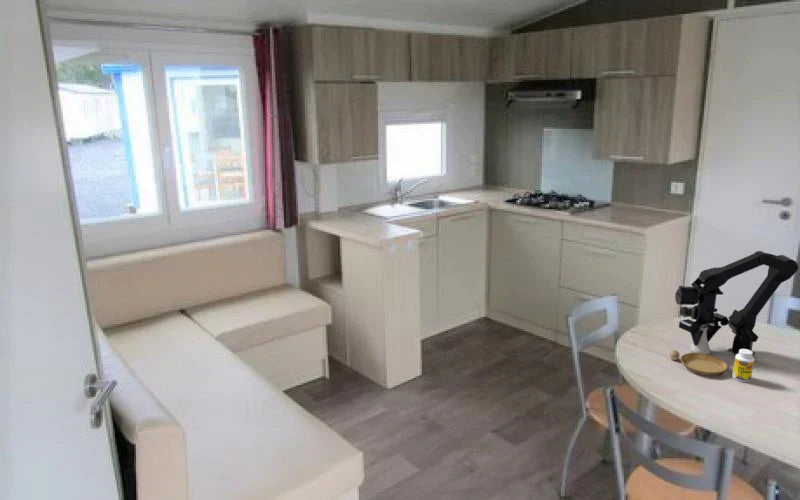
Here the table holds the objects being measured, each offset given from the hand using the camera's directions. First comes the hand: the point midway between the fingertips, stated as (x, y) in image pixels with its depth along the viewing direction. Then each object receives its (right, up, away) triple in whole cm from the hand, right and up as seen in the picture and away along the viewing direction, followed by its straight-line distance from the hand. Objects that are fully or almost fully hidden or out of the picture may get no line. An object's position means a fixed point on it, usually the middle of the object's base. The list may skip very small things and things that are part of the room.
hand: (700, 343), depth 217 cm
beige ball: (-13, -3, -6) cm, 14 cm away
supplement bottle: (+4, -9, -19) cm, 22 cm away
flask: (0, -3, +1) cm, 3 cm away
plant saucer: (-5, -7, -12) cm, 15 cm away
